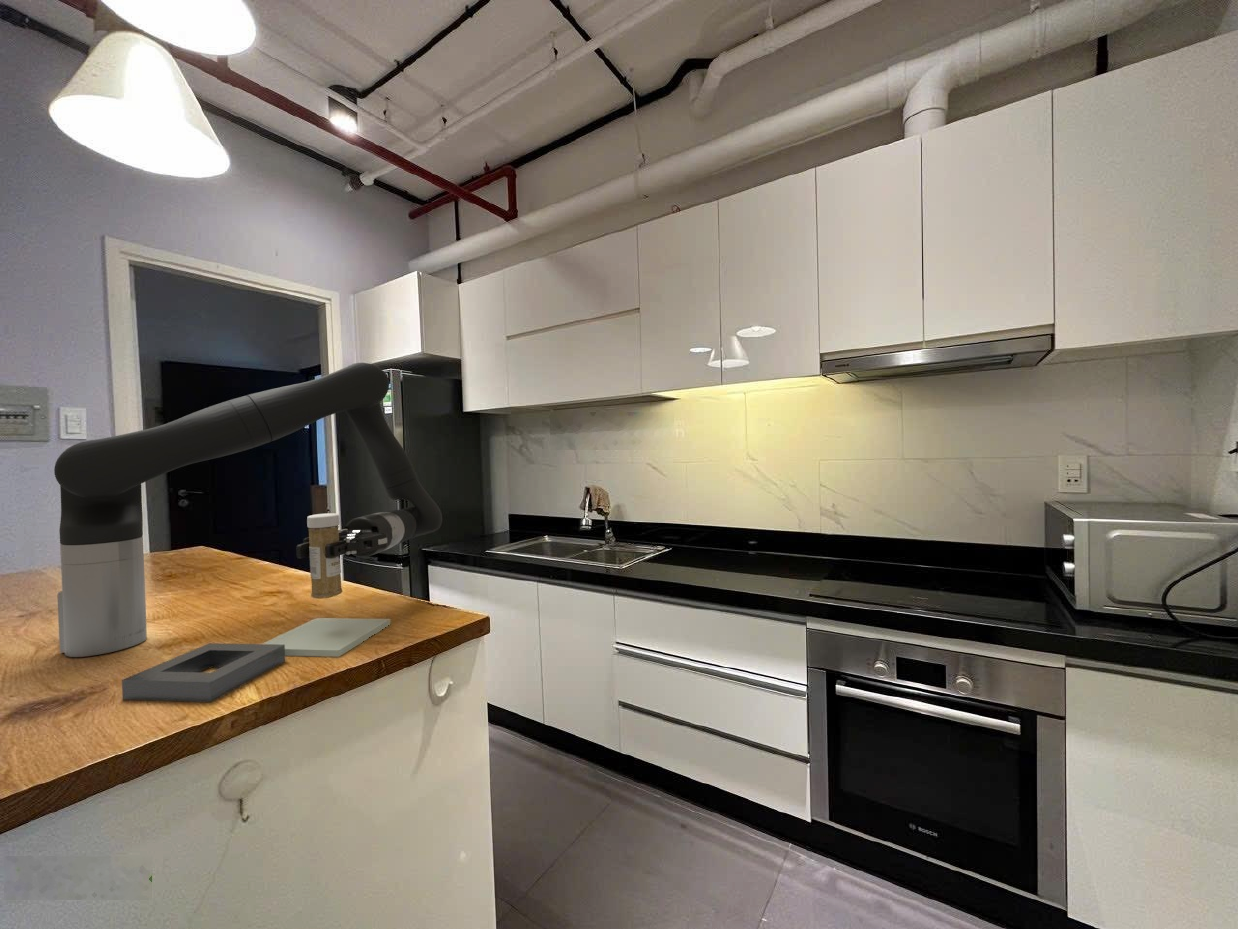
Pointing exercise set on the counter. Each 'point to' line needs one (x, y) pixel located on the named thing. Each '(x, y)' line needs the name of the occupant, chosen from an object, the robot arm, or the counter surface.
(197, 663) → the metal socket
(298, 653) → the sage board
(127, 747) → the counter surface
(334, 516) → the sprinkles bottle
